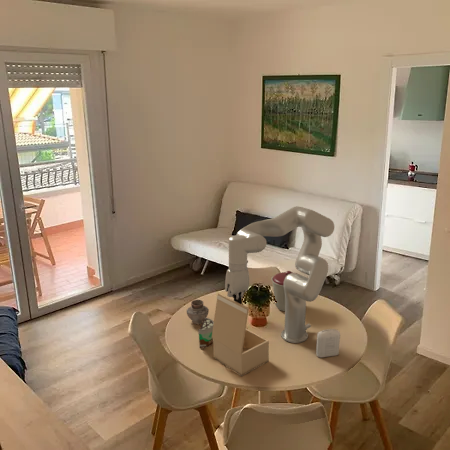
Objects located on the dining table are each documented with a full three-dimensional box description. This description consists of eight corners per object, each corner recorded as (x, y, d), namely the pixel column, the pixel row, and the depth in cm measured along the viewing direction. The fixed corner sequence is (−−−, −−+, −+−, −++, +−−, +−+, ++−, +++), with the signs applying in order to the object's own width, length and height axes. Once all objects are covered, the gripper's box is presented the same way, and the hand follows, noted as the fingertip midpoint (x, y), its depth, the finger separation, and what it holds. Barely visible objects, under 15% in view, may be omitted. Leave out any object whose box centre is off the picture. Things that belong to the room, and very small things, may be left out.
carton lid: (219, 293, 199) (217, 293, 199) (248, 307, 186) (247, 308, 186) (213, 337, 203) (211, 337, 202) (241, 354, 189) (240, 355, 189)
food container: (212, 350, 211) (211, 331, 208) (198, 349, 212) (198, 330, 209) (217, 336, 222) (217, 318, 220) (205, 335, 224) (204, 317, 221)
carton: (240, 344, 216) (240, 325, 213) (268, 361, 202) (268, 340, 200) (213, 357, 206) (213, 337, 203) (241, 375, 192) (241, 354, 190)
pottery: (235, 327, 231) (235, 305, 227) (185, 326, 232) (184, 305, 229) (236, 316, 242) (236, 295, 238) (188, 316, 243) (187, 295, 239)
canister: (305, 301, 257) (307, 266, 251) (303, 317, 240) (305, 279, 234) (273, 298, 261) (273, 263, 255) (268, 313, 244) (269, 276, 238)
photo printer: (335, 350, 210) (337, 325, 206) (340, 355, 206) (341, 330, 202) (314, 353, 208) (315, 328, 204) (318, 358, 204) (319, 333, 200)
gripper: (244, 258, 197) (244, 298, 203) (217, 267, 188) (218, 308, 193) (257, 263, 192) (256, 304, 197) (230, 272, 183) (230, 315, 188)
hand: (237, 306), depth 195 cm, fingers closed
